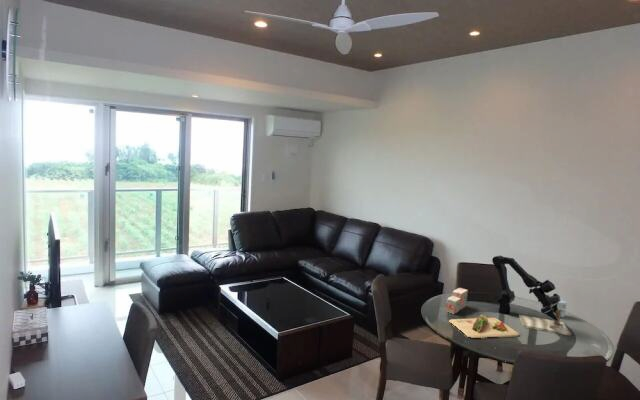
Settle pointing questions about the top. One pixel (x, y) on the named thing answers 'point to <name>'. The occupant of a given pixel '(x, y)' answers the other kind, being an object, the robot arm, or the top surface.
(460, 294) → the stack of blocks
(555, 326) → the block
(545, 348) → the top surface
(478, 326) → the cutting board
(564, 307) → the light bulb box
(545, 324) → the plywood board
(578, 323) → the top surface
